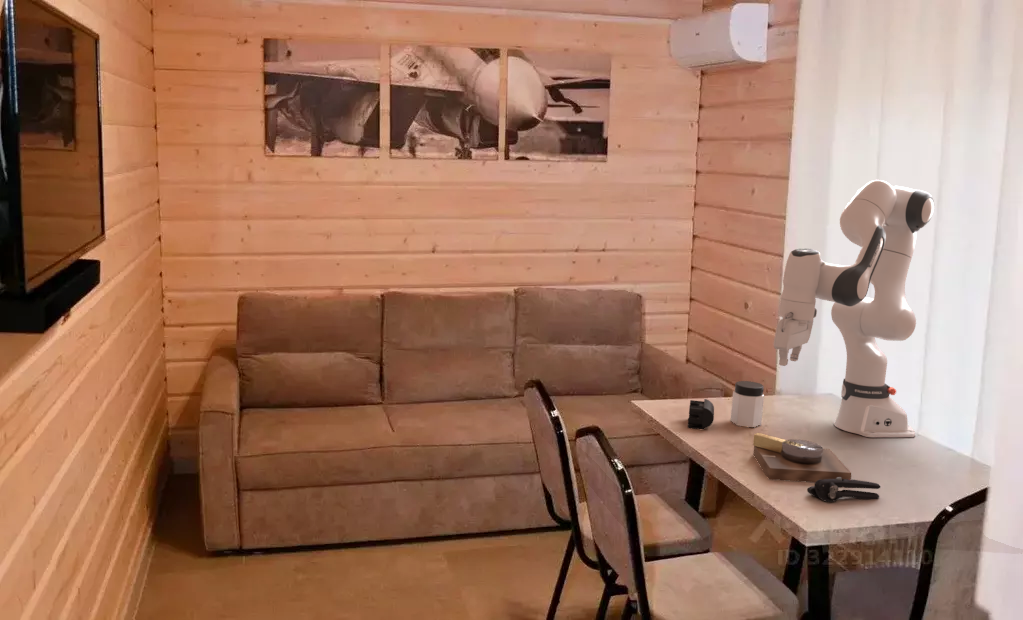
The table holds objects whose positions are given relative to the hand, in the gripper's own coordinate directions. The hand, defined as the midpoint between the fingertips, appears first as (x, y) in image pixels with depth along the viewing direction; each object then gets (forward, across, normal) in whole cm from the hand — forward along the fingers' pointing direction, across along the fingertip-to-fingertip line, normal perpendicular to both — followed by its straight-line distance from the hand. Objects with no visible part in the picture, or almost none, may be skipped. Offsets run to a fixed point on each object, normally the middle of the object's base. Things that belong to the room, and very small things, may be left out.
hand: (788, 363), depth 248 cm
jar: (+25, +24, +16) cm, 39 cm away
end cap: (+26, +14, +26) cm, 40 cm away
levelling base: (+26, -5, -8) cm, 27 cm away
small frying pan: (+22, -5, -4) cm, 23 cm away
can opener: (+26, -18, -23) cm, 39 cm away
